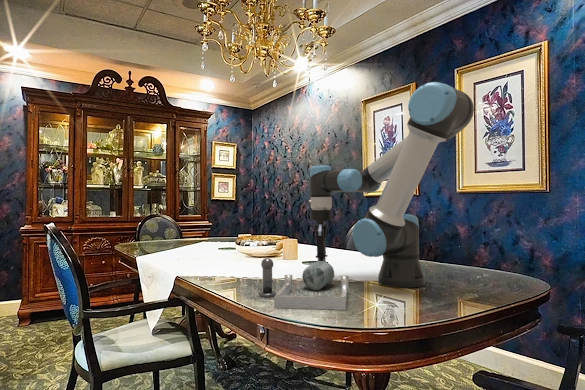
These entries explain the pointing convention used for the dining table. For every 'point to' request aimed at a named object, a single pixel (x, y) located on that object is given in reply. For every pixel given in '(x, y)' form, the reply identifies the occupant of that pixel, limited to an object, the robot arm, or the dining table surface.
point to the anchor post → (267, 278)
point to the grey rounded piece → (318, 275)
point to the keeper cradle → (311, 298)
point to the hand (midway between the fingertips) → (321, 275)
